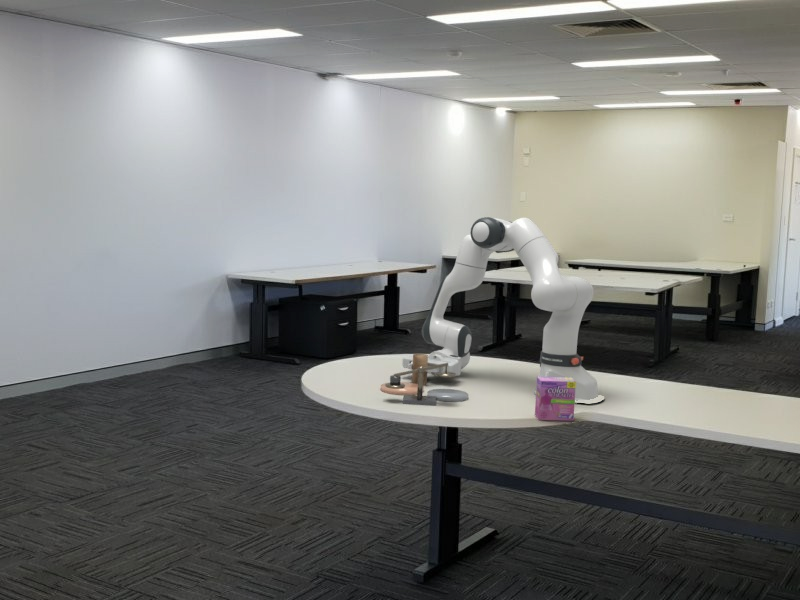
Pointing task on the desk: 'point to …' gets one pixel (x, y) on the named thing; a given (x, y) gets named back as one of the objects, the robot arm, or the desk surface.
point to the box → (555, 398)
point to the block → (417, 362)
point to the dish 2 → (448, 395)
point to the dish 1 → (402, 389)
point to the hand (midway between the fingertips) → (418, 368)
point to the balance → (418, 398)
